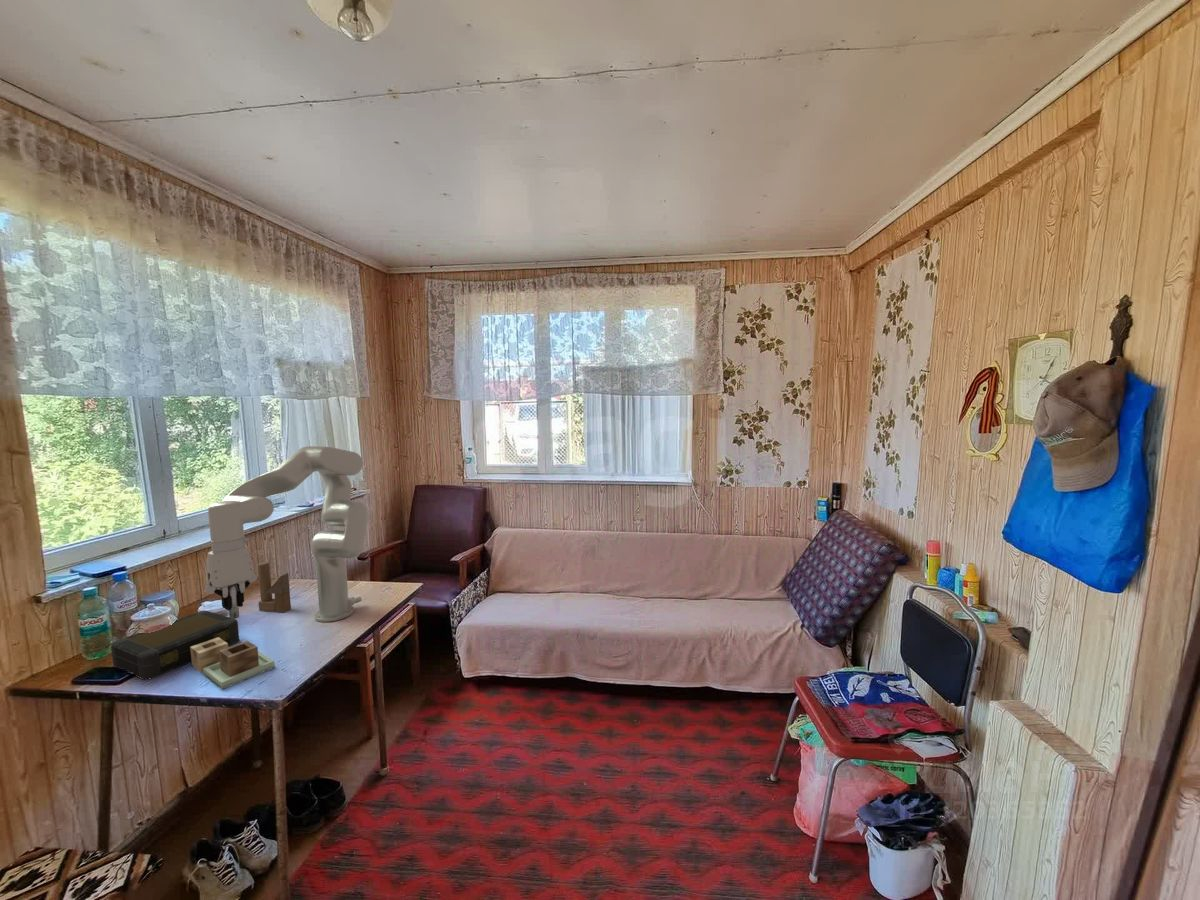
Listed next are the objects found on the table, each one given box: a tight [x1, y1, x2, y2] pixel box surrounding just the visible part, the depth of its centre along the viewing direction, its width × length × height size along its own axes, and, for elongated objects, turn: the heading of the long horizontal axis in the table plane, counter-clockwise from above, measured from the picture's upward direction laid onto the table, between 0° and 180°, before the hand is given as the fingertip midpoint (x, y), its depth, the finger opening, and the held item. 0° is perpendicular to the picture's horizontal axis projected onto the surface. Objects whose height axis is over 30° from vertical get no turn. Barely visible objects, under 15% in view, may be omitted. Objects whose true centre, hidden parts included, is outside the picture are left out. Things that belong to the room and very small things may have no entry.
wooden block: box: [257, 561, 292, 614], centre depth 181 cm, size 4×11×18 cm, turn 80°
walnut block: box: [219, 640, 259, 677], centre depth 141 cm, size 7×7×6 cm
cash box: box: [111, 610, 240, 680], centre depth 151 cm, size 25×20×8 cm
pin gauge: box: [227, 584, 240, 620], centre depth 139 cm, size 2×2×10 cm
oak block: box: [190, 637, 229, 674], centre depth 145 cm, size 7×7×6 cm
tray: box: [202, 650, 276, 690], centre depth 141 cm, size 13×13×2 cm
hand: (233, 606), depth 139 cm, fingers closed on pin gauge, 2 cm apart
